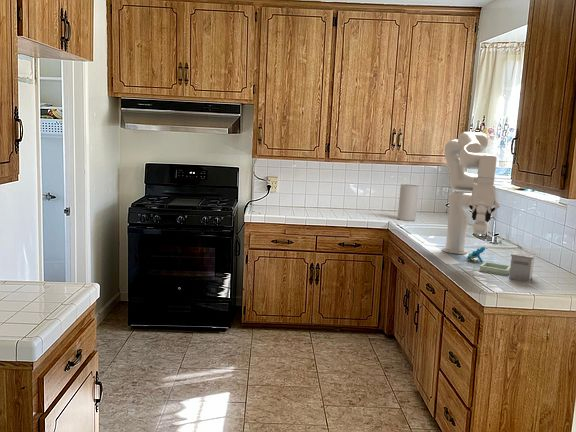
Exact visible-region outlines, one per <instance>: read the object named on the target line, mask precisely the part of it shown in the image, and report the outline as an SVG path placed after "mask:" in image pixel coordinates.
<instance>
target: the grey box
mask: <svg viewBox="0 0 576 432" xmlns="http://www.w3.org/2000/svg"><path fill="white" fill-rule="evenodd" d="M536 256H537V254H536V253H531V252H527V251H521V250H514V251H512V253H510V257H511V260H510V265H509V266H510V272H509V274H508V279H510V280H516V281H521V282H528V283H530V281H531V280H532V278H533V273H534V263H535V257H536Z"/></svg>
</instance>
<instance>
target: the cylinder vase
mask: <svg viewBox="0 0 576 432" xmlns="http://www.w3.org/2000/svg"><path fill="white" fill-rule="evenodd" d="M419 188H420V187H419V185H415V184H403V183H402V184H400V189H399V199H398V211H397V219H398V220H400V221H403V222H414V221H416V216H417V207H418V196H419Z"/></svg>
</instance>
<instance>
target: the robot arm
mask: <svg viewBox="0 0 576 432" xmlns="http://www.w3.org/2000/svg"><path fill="white" fill-rule="evenodd" d="M488 141H489V139H488V136H487V135H486V134H485V133H483V132H472V131H464V132H462V133H460V134H459V136H458V138H457V139H451V140H449V141H447V142H446V143H445V146H444V152H443V153H444V158H445V161H446V163H447V167H448V172H449V173H448V174H449V176H448V177H449V185H450V188H451V190H452V191H454V192H452V193H450V194H449V197H448V220H447V231H446V239H445V246H444V247H442V249H441V250H442V251H443V252H445V253H448V254H449V253H450V254H456V255H465V254H467V253H468V250H467V249H465V245H466V236H467V228H468V217H467V215H466V214H465V212H464V211H468V212H469V211H471V212H472V213H471V218H472V220H473V221H474V220H475V214H476V206H478V203H479V202H480V201H484V203H485V205H484V206H485V207H488V213H487V218H486V221H487V223H488V222H490V221H491V218H492V213H494V212H495V210H498V209H499V208H500V207H501V206H500V204H499V203H498V201H497V200H496V185H495V184H494V183H495V178H496V177H495V175H496V168H497V155H494V154H490V153H482V152H484V151H485V150H486V149H487V146H488V143H489V142H488ZM468 169H469V170H477V174H475V173H468V172H467V171H466V170H468Z"/></svg>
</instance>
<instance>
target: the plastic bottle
mask: <svg viewBox="0 0 576 432" xmlns="http://www.w3.org/2000/svg"><path fill="white" fill-rule="evenodd" d="M484 205H485V203H484V201H480V202H479V203H478V206H476V214H475V220H473V225H472V232H473V233H474V234H477V235H485V234H486V233H488V222H487V221H486V218H487V213H488V207H485V206H484Z"/></svg>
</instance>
